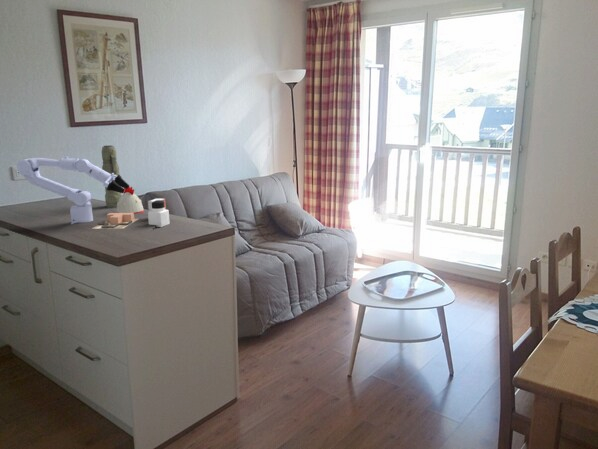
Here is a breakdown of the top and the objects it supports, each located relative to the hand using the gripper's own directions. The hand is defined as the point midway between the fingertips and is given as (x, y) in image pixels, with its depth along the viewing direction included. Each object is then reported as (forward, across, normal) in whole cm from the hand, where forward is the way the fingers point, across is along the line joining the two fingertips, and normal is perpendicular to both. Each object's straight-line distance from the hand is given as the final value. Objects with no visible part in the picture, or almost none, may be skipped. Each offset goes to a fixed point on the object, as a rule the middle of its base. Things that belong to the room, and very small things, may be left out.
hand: (126, 189), depth 234 cm
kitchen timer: (+6, +17, +18) cm, 26 cm away
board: (+5, -11, +14) cm, 19 cm away
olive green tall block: (-6, +38, +29) cm, 48 cm away
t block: (+5, -7, +14) cm, 16 cm away
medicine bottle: (+23, -12, +3) cm, 26 cm away
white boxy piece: (+21, -1, +6) cm, 22 cm away
